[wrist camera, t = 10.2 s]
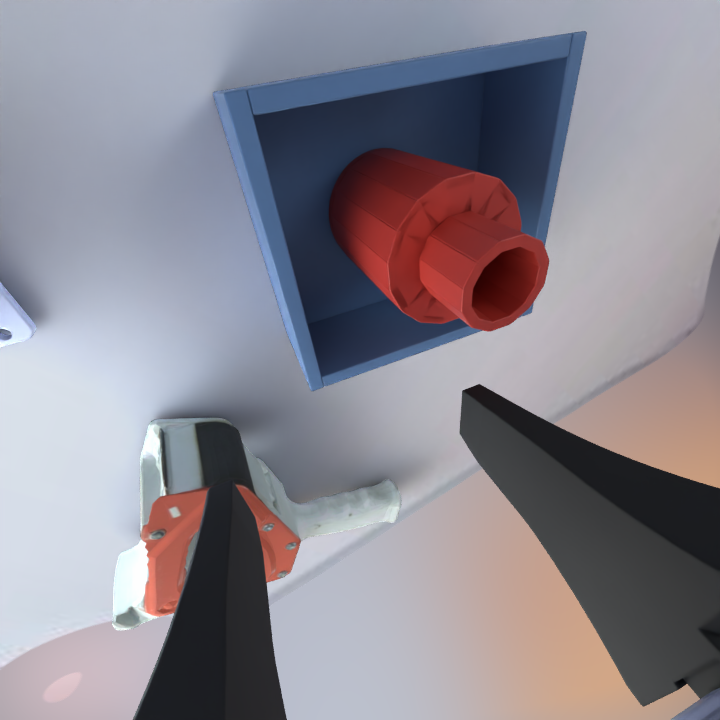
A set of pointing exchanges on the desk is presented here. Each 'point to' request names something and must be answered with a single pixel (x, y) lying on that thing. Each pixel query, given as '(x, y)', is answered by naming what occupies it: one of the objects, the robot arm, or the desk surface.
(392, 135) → the tub
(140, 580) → the tape dispenser
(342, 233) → the bottle
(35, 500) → the desk surface
